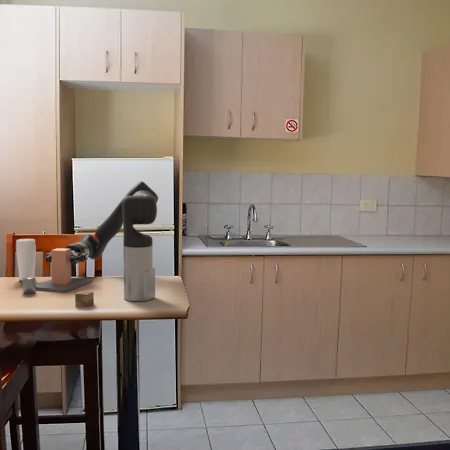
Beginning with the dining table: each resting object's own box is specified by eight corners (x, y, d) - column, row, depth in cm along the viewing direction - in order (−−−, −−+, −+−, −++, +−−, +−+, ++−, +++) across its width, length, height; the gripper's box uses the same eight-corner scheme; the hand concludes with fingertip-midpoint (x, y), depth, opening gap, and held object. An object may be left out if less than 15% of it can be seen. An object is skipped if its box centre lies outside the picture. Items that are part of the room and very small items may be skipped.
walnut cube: (93, 304, 169) (93, 291, 169) (87, 307, 165) (86, 294, 165) (82, 303, 170) (81, 290, 170) (75, 306, 166) (75, 293, 166)
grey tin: (38, 291, 185) (37, 277, 184) (31, 294, 181) (30, 279, 181) (28, 291, 186) (27, 276, 185) (20, 293, 182) (20, 278, 182)
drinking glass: (16, 281, 200) (15, 241, 199) (18, 278, 207) (16, 238, 205) (35, 281, 202) (34, 240, 201) (37, 277, 209) (35, 238, 207)
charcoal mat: (92, 281, 202) (92, 279, 201) (65, 292, 184) (64, 289, 184) (58, 279, 205) (58, 276, 205) (29, 289, 188) (29, 286, 188)
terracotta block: (71, 281, 197) (70, 248, 196) (65, 284, 192) (65, 250, 191) (57, 281, 198) (57, 248, 196) (52, 284, 193) (51, 250, 191)
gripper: (94, 263, 208) (78, 271, 192) (58, 262, 209) (39, 270, 193) (94, 243, 207) (78, 250, 191) (57, 242, 208) (39, 249, 192)
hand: (59, 260), depth 192 cm, fingers open, 8 cm apart
